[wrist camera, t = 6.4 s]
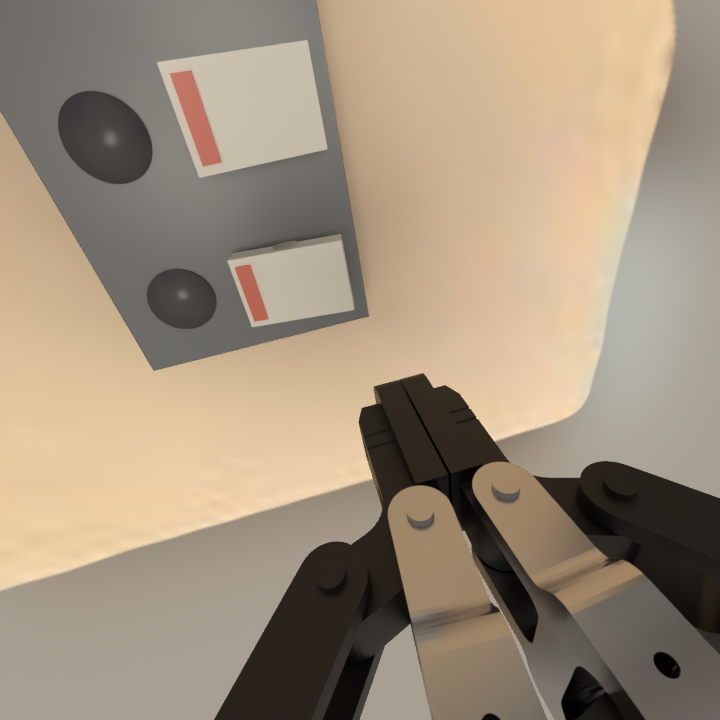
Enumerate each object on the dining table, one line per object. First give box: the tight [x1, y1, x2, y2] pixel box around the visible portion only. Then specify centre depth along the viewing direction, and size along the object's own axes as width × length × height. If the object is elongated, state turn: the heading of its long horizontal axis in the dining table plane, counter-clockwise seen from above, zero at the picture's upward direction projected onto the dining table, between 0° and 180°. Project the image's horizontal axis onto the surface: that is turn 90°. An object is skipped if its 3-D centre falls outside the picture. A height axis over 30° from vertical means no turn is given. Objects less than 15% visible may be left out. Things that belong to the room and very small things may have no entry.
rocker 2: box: [227, 234, 354, 327], centre depth 21 cm, size 6×4×2 cm, turn 99°
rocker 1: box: [157, 40, 328, 178], centre depth 16 cm, size 6×4×2 cm, turn 100°
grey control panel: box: [0, 0, 369, 371], centre depth 19 cm, size 14×24×4 cm, turn 10°
